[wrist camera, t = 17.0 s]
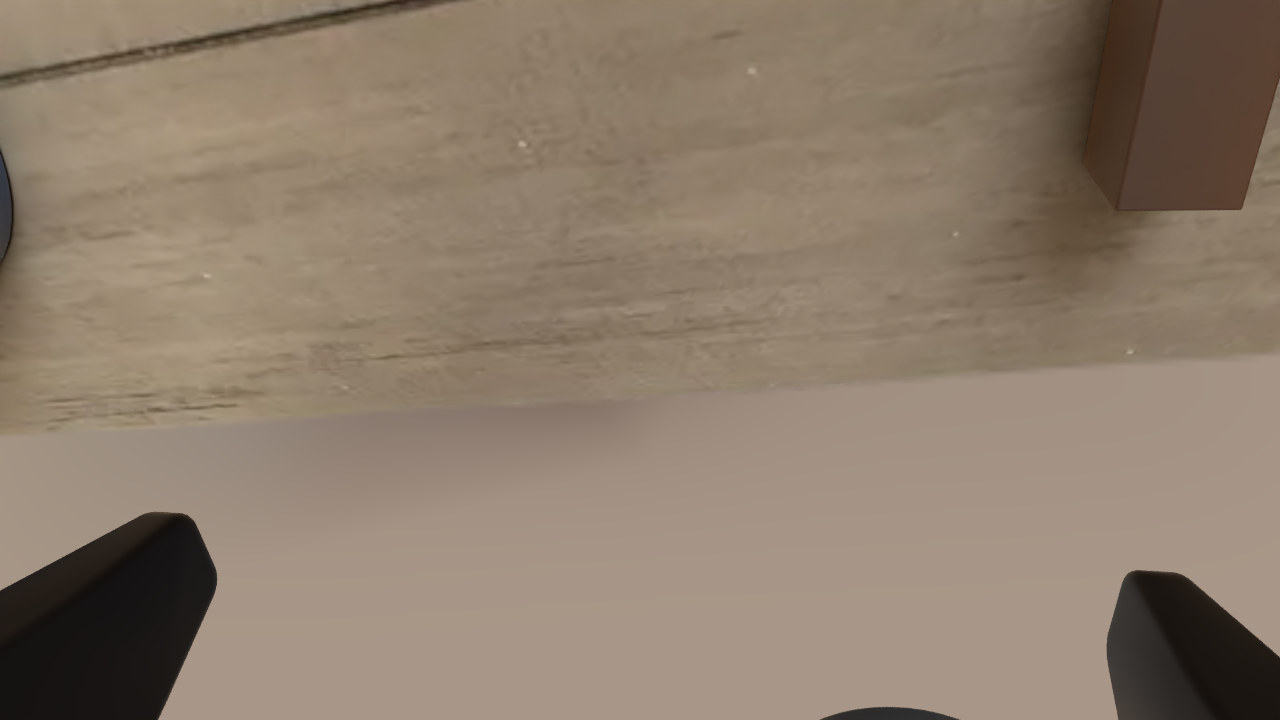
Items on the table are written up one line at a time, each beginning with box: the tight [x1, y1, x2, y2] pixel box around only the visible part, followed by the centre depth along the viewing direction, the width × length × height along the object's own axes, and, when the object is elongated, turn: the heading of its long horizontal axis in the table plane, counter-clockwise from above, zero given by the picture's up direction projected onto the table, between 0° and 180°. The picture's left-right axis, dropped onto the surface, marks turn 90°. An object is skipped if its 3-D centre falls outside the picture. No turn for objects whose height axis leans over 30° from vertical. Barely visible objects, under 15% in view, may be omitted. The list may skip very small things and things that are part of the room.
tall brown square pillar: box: [1083, 0, 1280, 211], centre depth 15 cm, size 2×5×2 cm, turn 4°
